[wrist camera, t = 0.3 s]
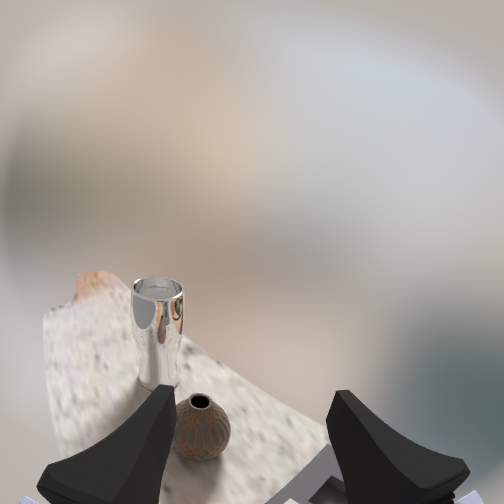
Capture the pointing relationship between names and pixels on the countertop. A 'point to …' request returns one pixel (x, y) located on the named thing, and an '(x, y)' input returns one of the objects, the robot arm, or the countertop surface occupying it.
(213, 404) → the vase
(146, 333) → the metal tumbler
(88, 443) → the countertop surface
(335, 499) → the socket
